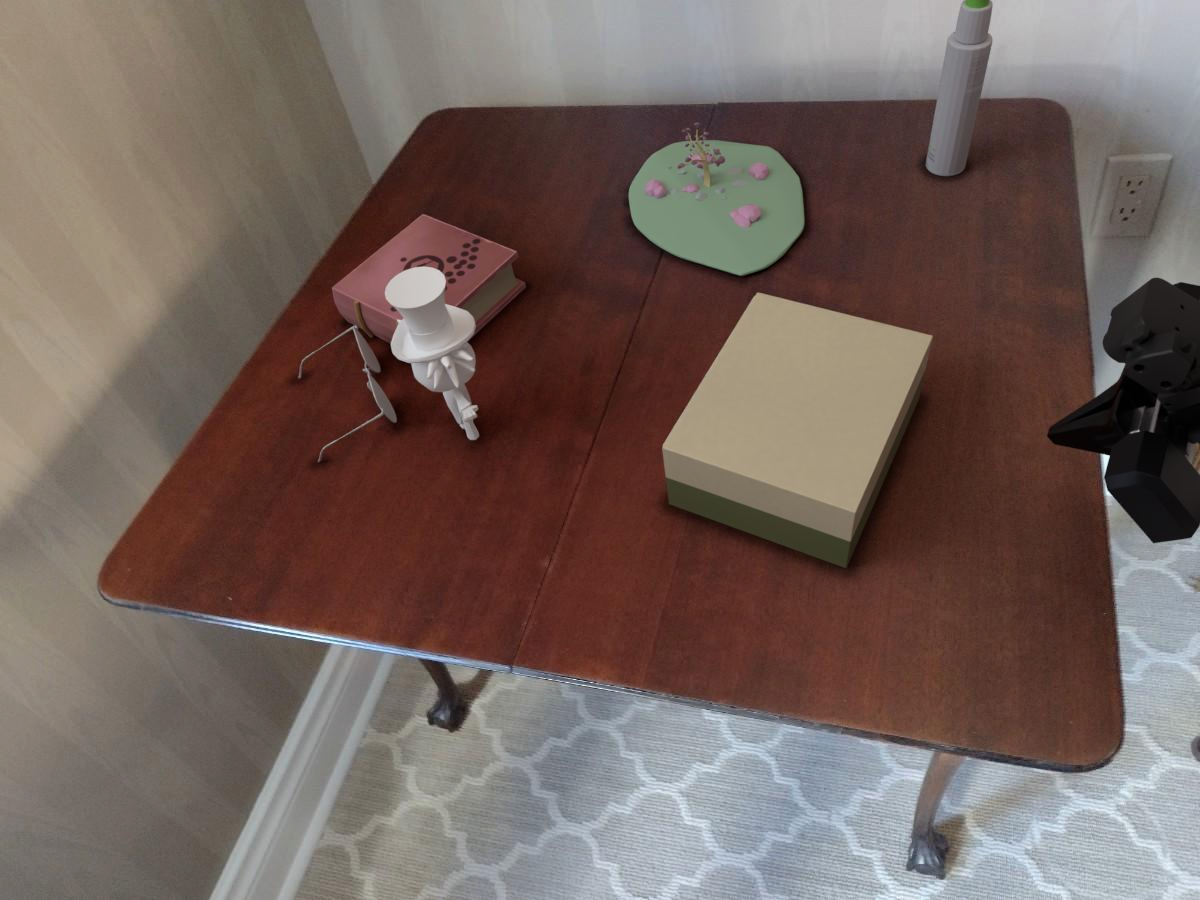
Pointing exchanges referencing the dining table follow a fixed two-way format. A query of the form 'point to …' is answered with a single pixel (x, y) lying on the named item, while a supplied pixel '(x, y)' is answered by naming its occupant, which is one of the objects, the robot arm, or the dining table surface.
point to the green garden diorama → (719, 203)
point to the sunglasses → (372, 384)
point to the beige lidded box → (797, 425)
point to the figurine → (435, 339)
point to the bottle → (960, 89)
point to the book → (463, 258)
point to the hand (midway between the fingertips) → (1051, 436)
